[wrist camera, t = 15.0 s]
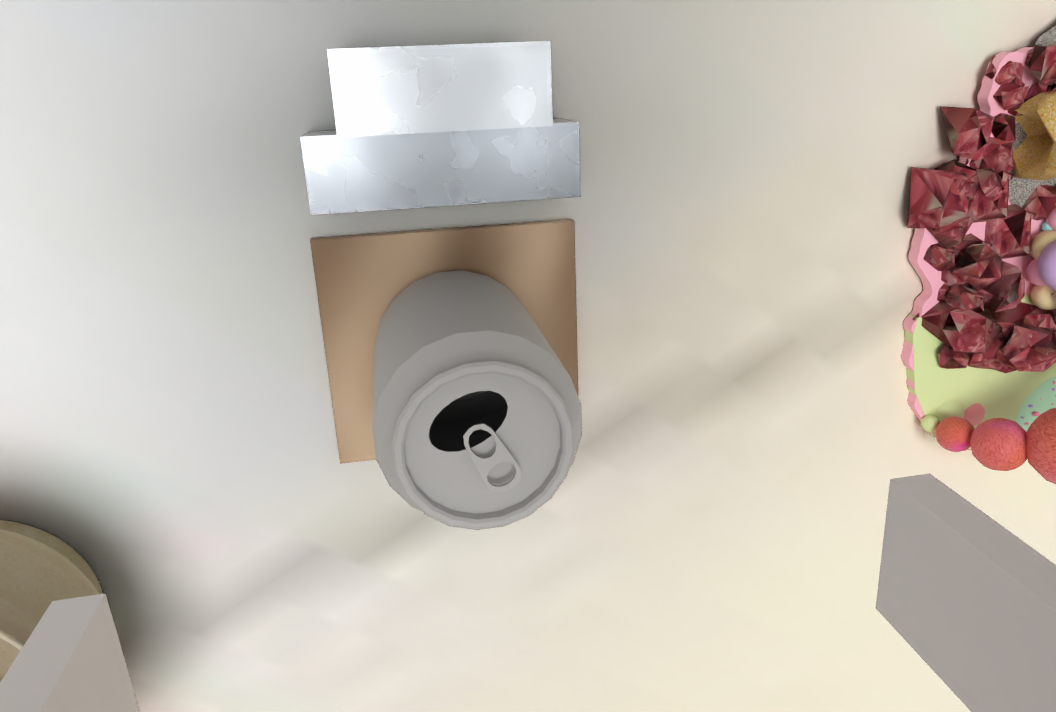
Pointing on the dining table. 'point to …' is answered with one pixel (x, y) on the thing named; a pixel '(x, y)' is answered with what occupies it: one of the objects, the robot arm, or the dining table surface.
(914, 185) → the candy landscape model
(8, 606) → the planter bowl
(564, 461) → the can
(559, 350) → the mat
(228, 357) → the dining table surface
